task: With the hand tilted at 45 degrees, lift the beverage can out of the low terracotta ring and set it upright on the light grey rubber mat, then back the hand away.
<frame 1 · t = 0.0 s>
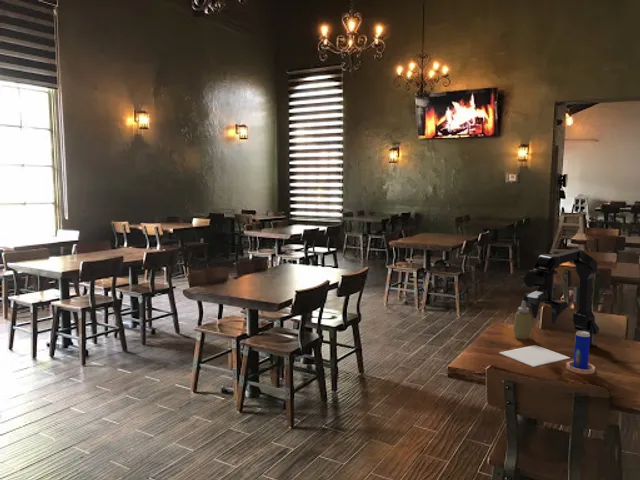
hand: (543, 320, 225), 15 cm above the table, tool pointing down, fingers open, 9 cm apart
beverage can: (580, 369, 210), resting in terracotta ring
squeeze bottle: (521, 338, 249), on the table
grey mat: (534, 355, 225), on the table
terracotta ring: (580, 369, 210), on the table
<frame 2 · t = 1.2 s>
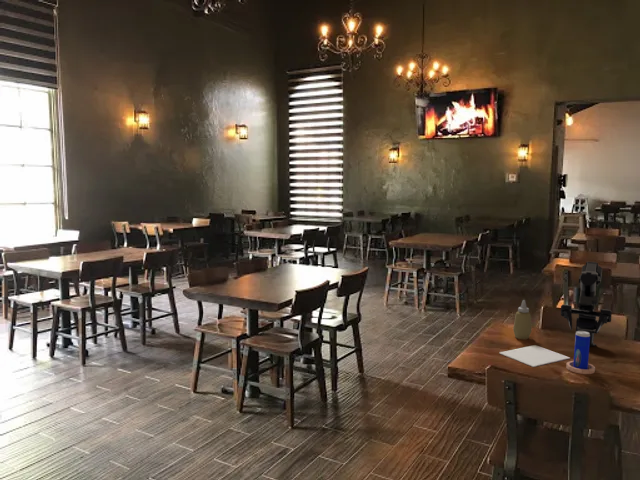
hand: (583, 331, 215), 13 cm above the table, tool tilted 45°, fingers open, 9 cm apart
nothing on the table moved.
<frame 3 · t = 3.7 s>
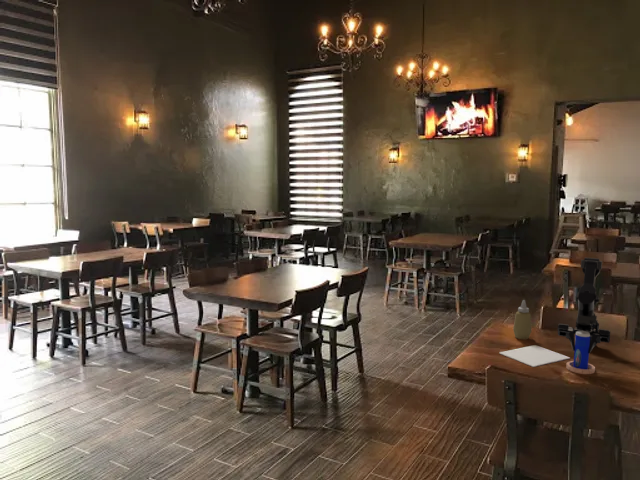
hand: (581, 351, 208), 8 cm above the table, tool tilted 45°, fingers closed on beverage can, 5 cm apart
beverage can: (580, 369, 210), resting in terracotta ring, touching gripper
everything else where it was.
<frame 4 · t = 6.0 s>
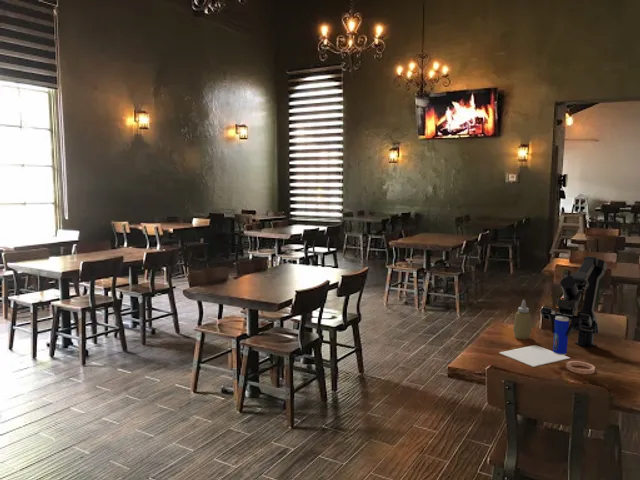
hand: (559, 334, 212), 13 cm above the table, tool tilted 45°, fingers closed on beverage can, 5 cm apart
beverage can: (559, 353, 214), point 4 cm above the table, touching gripper
everything else where it was.
when the fingers open (9 cm above the table, at t = 8.1 s): beverage can stays where it is, resting on grey mat.
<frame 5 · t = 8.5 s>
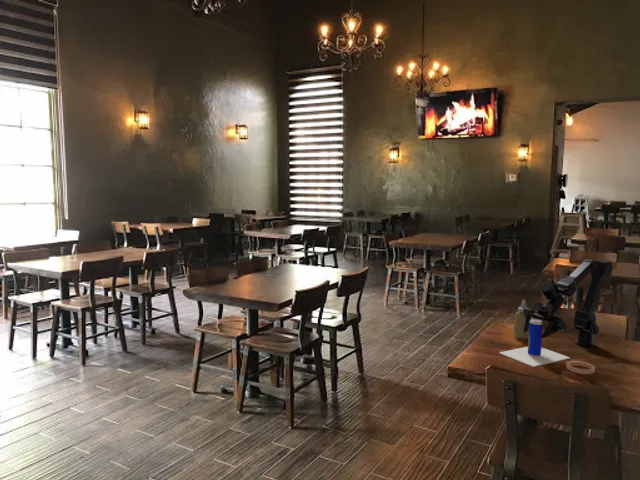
hand: (533, 334, 223), 9 cm above the table, tool tilted 45°, fingers open, 9 cm apart
beverage can: (534, 355, 225), resting on grey mat
everything else where it was.
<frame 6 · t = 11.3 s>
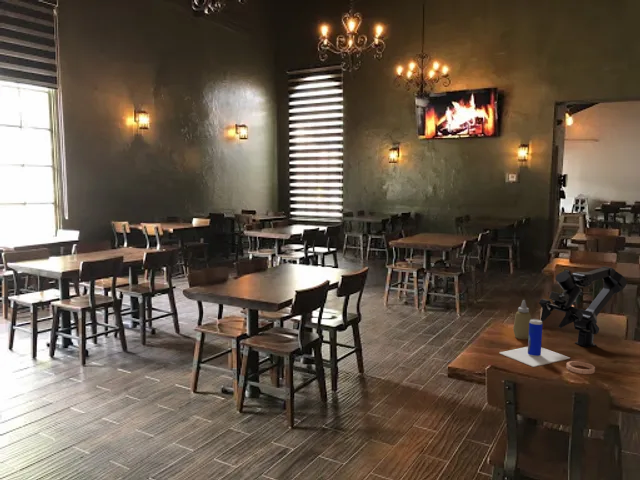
hand: (550, 324, 227), 13 cm above the table, tool tilted 45°, fingers open, 9 cm apart
nothing on the table moved.
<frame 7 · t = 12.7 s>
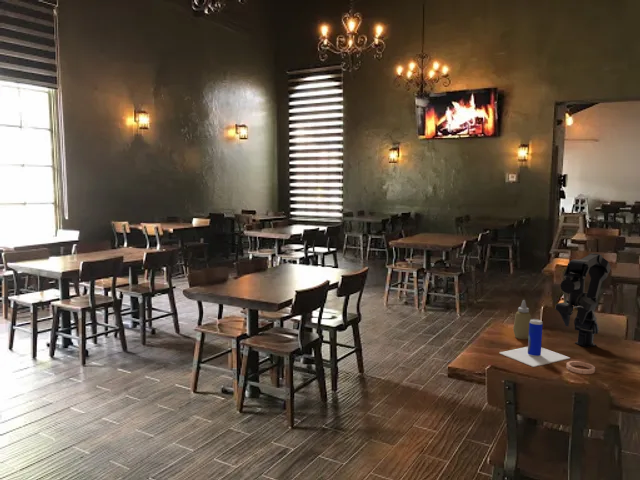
hand: (574, 325, 228), 12 cm above the table, tool pointing down, fingers open, 9 cm apart
nothing on the table moved.
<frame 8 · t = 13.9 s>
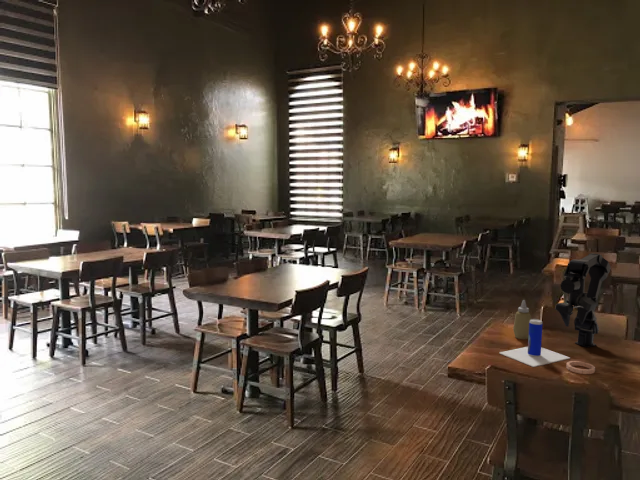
hand: (574, 325, 228), 12 cm above the table, tool pointing down, fingers open, 9 cm apart
nothing on the table moved.
at the end: beverage can inside the target area on the grey mat (0.1 cm from its centre), point 0.2 cm above the grey mat's base; beverage can tilted 0°; the gripper is holding nothing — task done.
